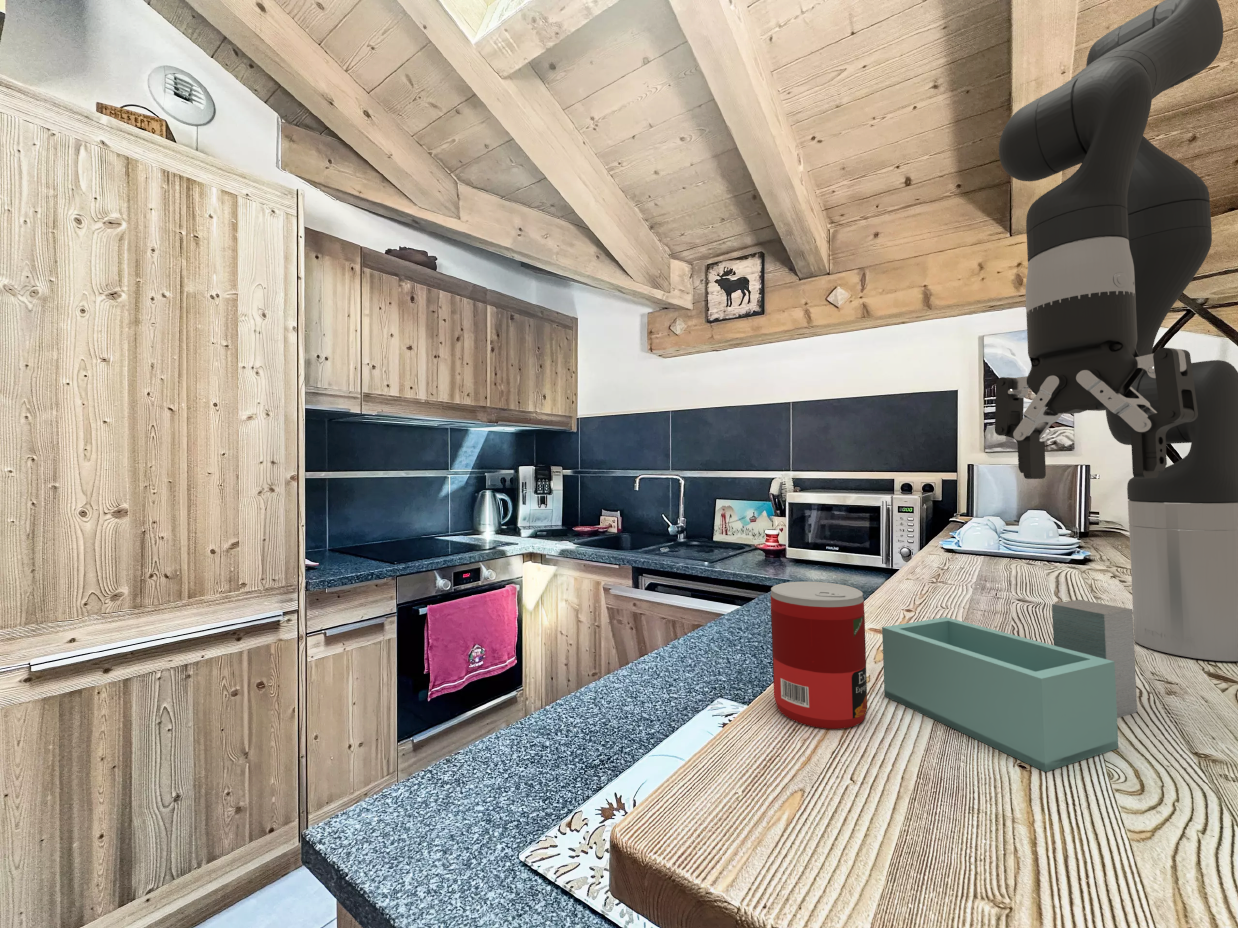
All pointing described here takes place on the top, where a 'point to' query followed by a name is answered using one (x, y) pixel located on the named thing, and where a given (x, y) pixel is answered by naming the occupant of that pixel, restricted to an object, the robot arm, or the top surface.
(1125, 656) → the grey upright brick
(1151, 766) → the top surface
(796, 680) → the canned food
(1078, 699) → the box
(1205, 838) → the top surface
